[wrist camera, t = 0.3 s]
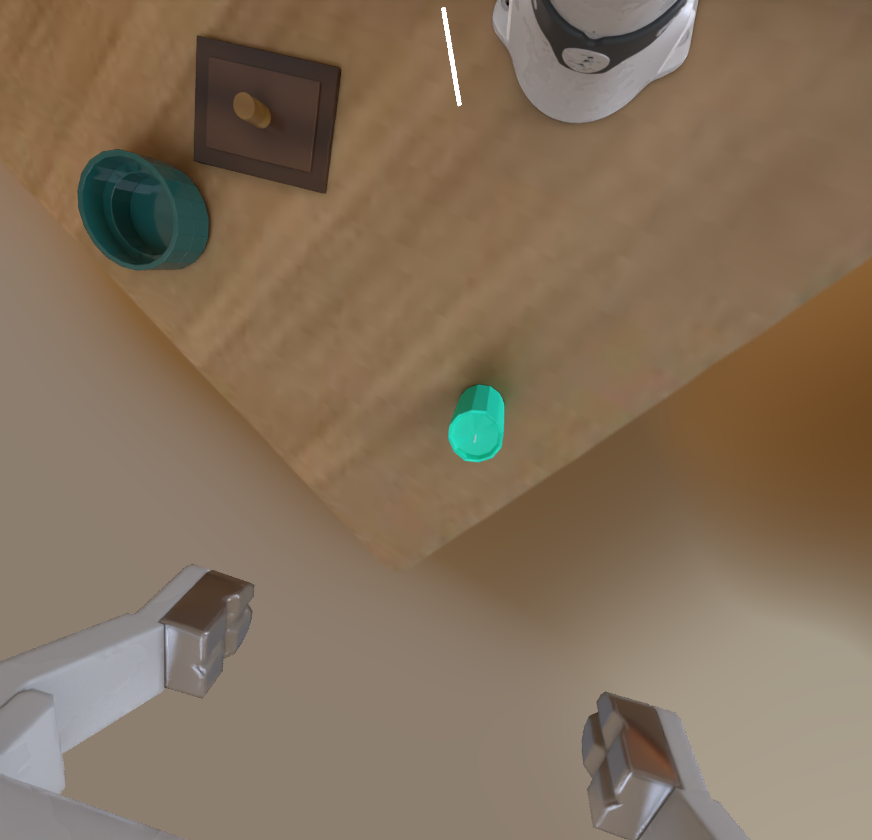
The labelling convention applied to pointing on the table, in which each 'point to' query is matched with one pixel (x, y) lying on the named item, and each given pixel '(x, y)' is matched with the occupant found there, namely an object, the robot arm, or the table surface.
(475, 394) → the candle
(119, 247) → the bowl
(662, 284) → the table surface
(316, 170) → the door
